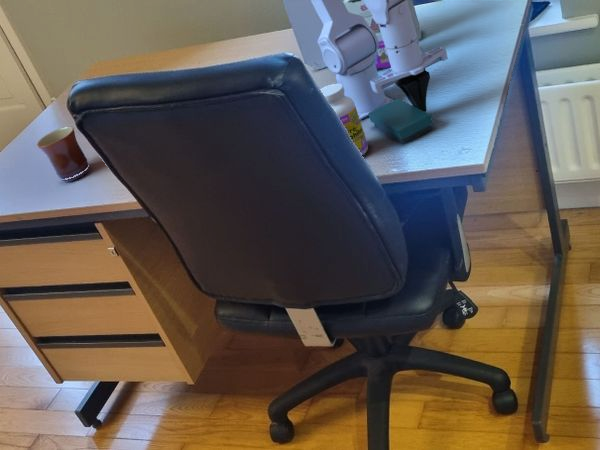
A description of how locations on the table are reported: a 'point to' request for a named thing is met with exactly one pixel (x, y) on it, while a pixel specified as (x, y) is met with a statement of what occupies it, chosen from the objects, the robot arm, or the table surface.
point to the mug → (64, 153)
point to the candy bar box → (358, 7)
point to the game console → (318, 29)
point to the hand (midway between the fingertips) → (421, 111)
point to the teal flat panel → (401, 120)
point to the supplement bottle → (346, 114)
